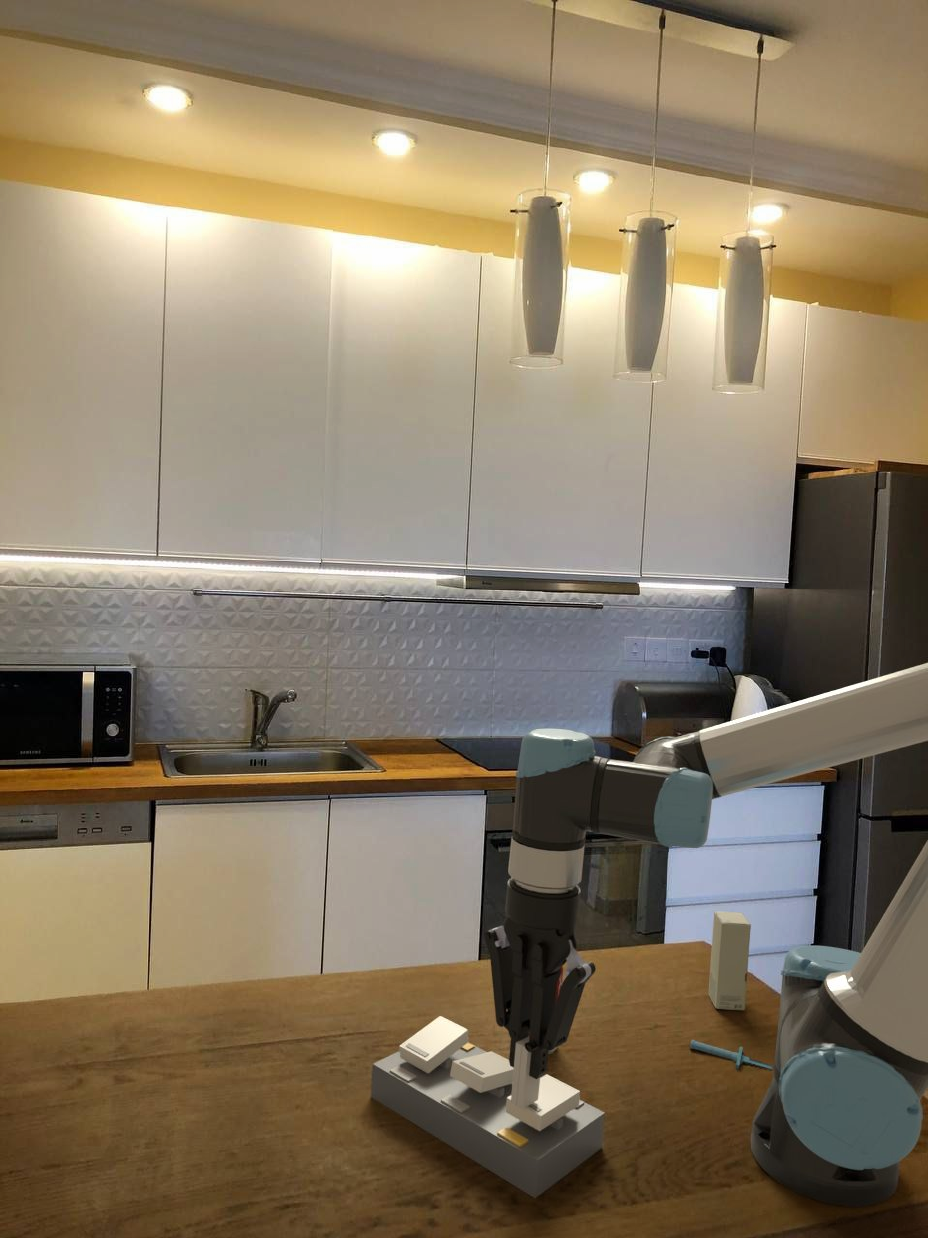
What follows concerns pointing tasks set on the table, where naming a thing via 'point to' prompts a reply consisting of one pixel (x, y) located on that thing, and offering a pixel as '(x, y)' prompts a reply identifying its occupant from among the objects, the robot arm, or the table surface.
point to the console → (487, 1122)
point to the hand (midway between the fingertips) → (524, 1101)
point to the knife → (729, 1055)
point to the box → (729, 960)
